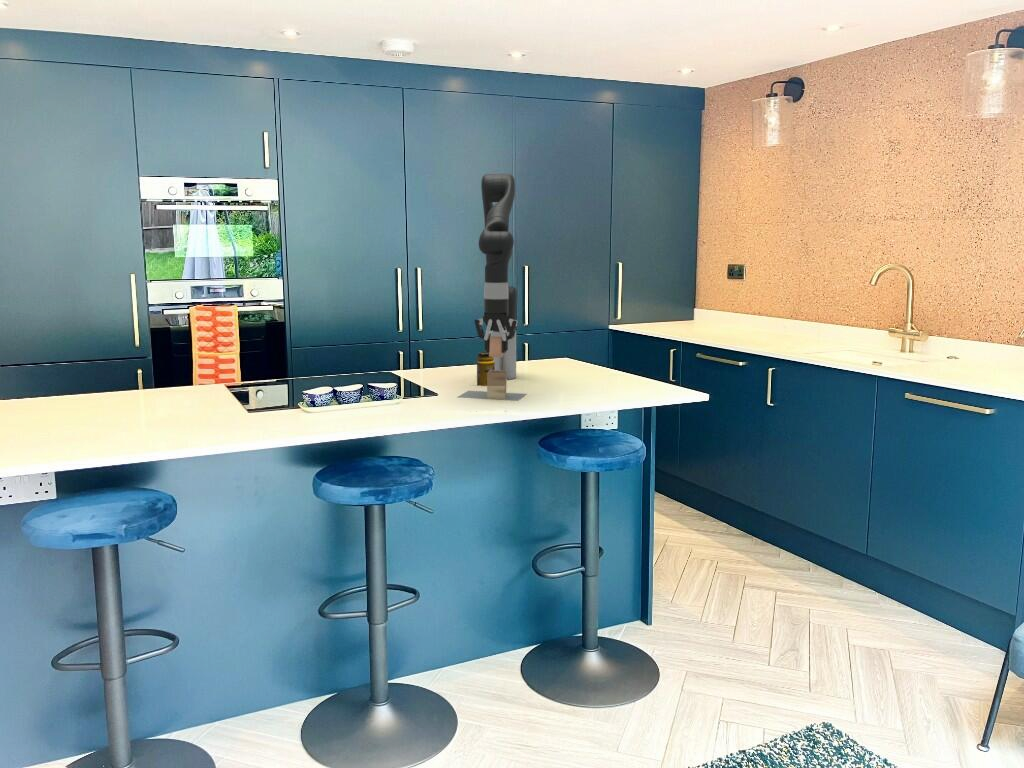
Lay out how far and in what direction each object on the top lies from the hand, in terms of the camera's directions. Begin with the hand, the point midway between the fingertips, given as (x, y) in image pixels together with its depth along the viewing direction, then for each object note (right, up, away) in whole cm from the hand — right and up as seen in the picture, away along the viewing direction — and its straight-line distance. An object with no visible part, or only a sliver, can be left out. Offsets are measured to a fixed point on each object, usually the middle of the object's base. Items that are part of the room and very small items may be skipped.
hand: (496, 352), depth 260 cm
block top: (0, -10, +2) cm, 10 cm away
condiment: (-5, -11, +26) cm, 28 cm away
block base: (0, -14, +2) cm, 14 cm away
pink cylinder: (0, -1, 0) cm, 1 cm away
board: (-1, -15, +5) cm, 16 cm away
